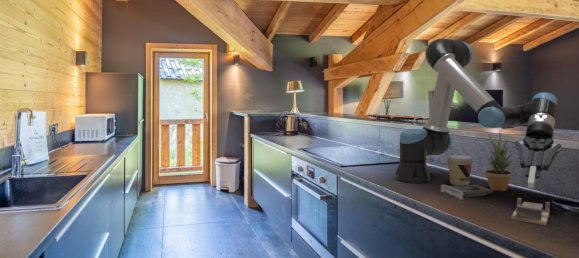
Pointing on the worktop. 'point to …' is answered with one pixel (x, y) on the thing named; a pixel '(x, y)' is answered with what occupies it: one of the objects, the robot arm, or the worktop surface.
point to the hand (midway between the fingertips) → (530, 185)
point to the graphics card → (465, 190)
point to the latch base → (531, 214)
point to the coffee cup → (459, 169)
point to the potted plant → (499, 167)
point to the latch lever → (532, 205)
